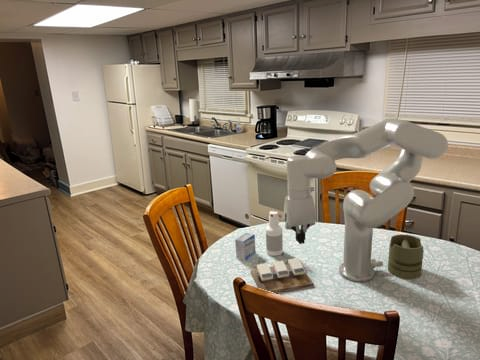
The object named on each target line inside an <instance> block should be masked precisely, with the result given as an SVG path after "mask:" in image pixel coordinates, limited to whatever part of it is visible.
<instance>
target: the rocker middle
mask: <svg viewBox="0 0 480 360" xmlns="http://www.w3.org/2000/svg"><path fill="white" fill-rule="evenodd" d="M285 264H286V263H285V262H284V260H278V261H273V262H272V264H271V265H272V266H273V267H274V269H275V272H276V274H277V276H278V278H281V277H287V276H289V272H288V270H287V268H286V266H285Z"/></svg>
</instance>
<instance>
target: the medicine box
mask: <svg viewBox="0 0 480 360" xmlns="http://www.w3.org/2000/svg"><path fill="white" fill-rule="evenodd" d="M234 241H235V243H234V244H235V256H236V257H235V258H236V259H239V260H240V261H241V260H242V261H244V262H245V261H247V260H248V259H250V258H251V257H252V256H253V255H254V254H256V253H257V252H256V250H257V249H256V235H255V234H253V233H250V232H245V233H243V234H241V236H239V237H237V238H236V239H235V240H234Z"/></svg>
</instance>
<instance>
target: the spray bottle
mask: <svg viewBox="0 0 480 360" xmlns="http://www.w3.org/2000/svg"><path fill="white" fill-rule="evenodd" d="M265 244H266V245H265V246H266V247H265V252H266V254H267V255H268V256H272V257H278V256H280V255H282V254H283V245H284V244H283V227H282V226H281V225H280V221H279V215H278V211H274V210H271V211H269V215H268V225H267V226H266V227H265Z"/></svg>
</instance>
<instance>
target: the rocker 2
mask: <svg viewBox="0 0 480 360" xmlns="http://www.w3.org/2000/svg"><path fill="white" fill-rule="evenodd" d="M287 264H289V265H290V267H291V270H292V272H293V274H294V275H300V274H305V272H306V270H305V268H304V266H303V264H302V262H301V261H300V259H299V257H295V258H289V259H287Z"/></svg>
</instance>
